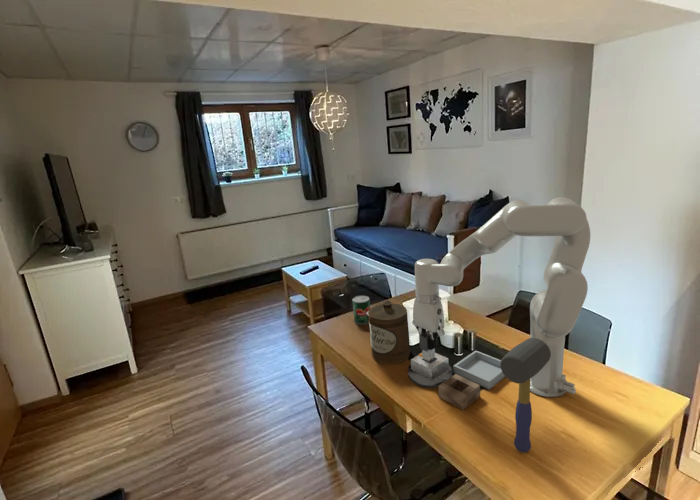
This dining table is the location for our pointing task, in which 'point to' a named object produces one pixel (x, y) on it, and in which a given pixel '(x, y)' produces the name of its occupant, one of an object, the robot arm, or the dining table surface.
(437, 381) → the dark gray round plate
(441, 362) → the collar
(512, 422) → the dining table surface
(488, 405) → the dining table surface
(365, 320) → the canned tomato
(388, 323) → the wooden container
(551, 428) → the dining table surface
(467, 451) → the dining table surface
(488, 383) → the tray
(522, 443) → the rubber mallet
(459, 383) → the stand
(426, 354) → the gray rectangular block
